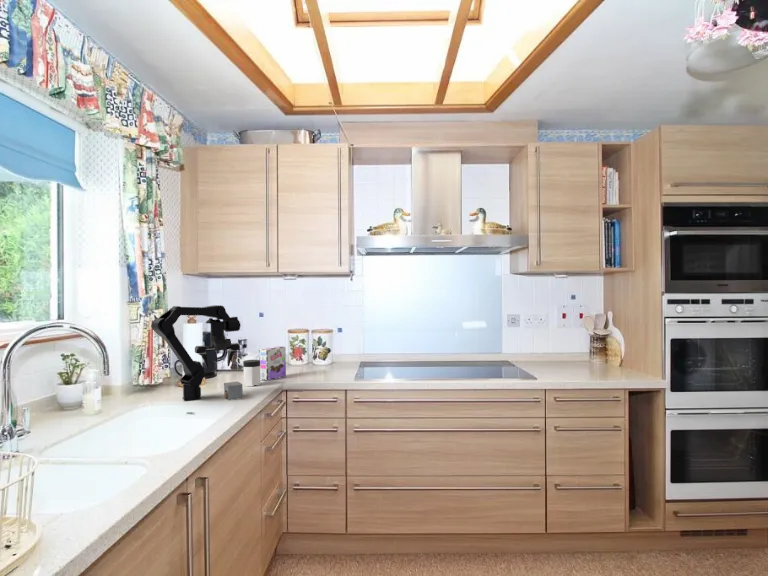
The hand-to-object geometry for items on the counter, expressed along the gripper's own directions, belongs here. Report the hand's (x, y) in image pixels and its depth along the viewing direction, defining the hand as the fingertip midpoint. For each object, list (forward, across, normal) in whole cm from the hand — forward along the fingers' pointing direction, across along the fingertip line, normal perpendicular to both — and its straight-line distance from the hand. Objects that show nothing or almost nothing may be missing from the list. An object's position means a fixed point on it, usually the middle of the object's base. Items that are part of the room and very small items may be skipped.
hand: (217, 367), depth 207 cm
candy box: (+12, +32, +21) cm, 40 cm away
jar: (+12, +18, +10) cm, 24 cm away
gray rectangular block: (+12, +4, -12) cm, 17 cm away
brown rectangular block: (+12, +4, -12) cm, 17 cm away
